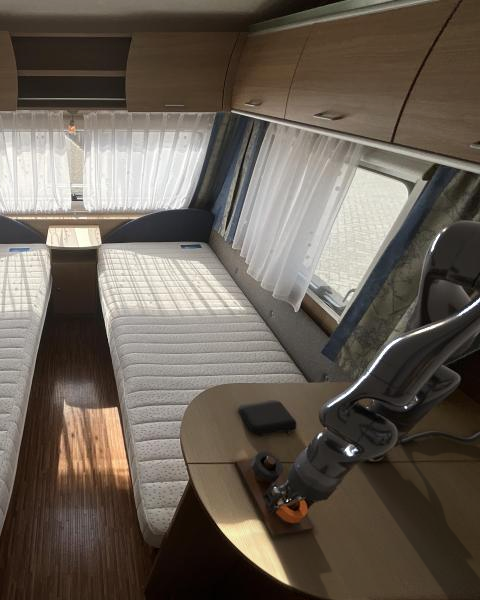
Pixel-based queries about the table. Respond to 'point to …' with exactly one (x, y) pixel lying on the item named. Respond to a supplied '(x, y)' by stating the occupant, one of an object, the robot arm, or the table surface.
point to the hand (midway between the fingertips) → (286, 507)
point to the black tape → (264, 473)
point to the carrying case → (267, 417)
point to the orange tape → (292, 512)
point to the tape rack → (256, 491)
